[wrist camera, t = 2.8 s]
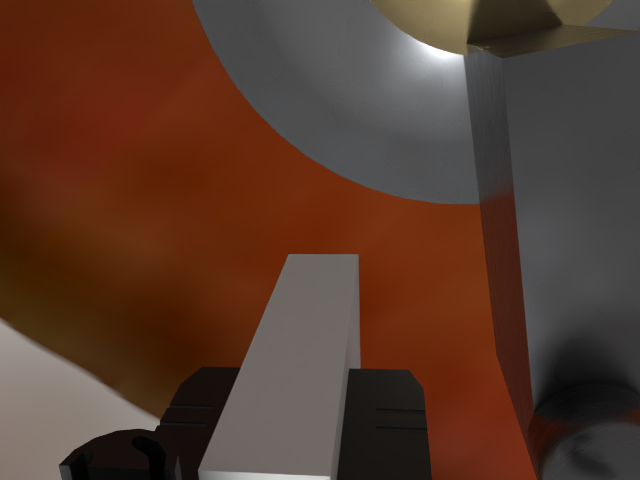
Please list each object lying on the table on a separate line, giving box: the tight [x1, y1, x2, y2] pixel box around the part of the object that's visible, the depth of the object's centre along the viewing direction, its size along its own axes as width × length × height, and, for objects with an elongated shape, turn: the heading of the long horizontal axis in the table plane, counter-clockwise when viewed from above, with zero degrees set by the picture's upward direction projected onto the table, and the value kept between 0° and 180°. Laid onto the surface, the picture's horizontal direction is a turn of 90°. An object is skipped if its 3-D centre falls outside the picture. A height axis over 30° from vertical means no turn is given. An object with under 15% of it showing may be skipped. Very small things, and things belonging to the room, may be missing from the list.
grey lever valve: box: [370, 0, 640, 480], centre depth 13 cm, size 18×13×8 cm
